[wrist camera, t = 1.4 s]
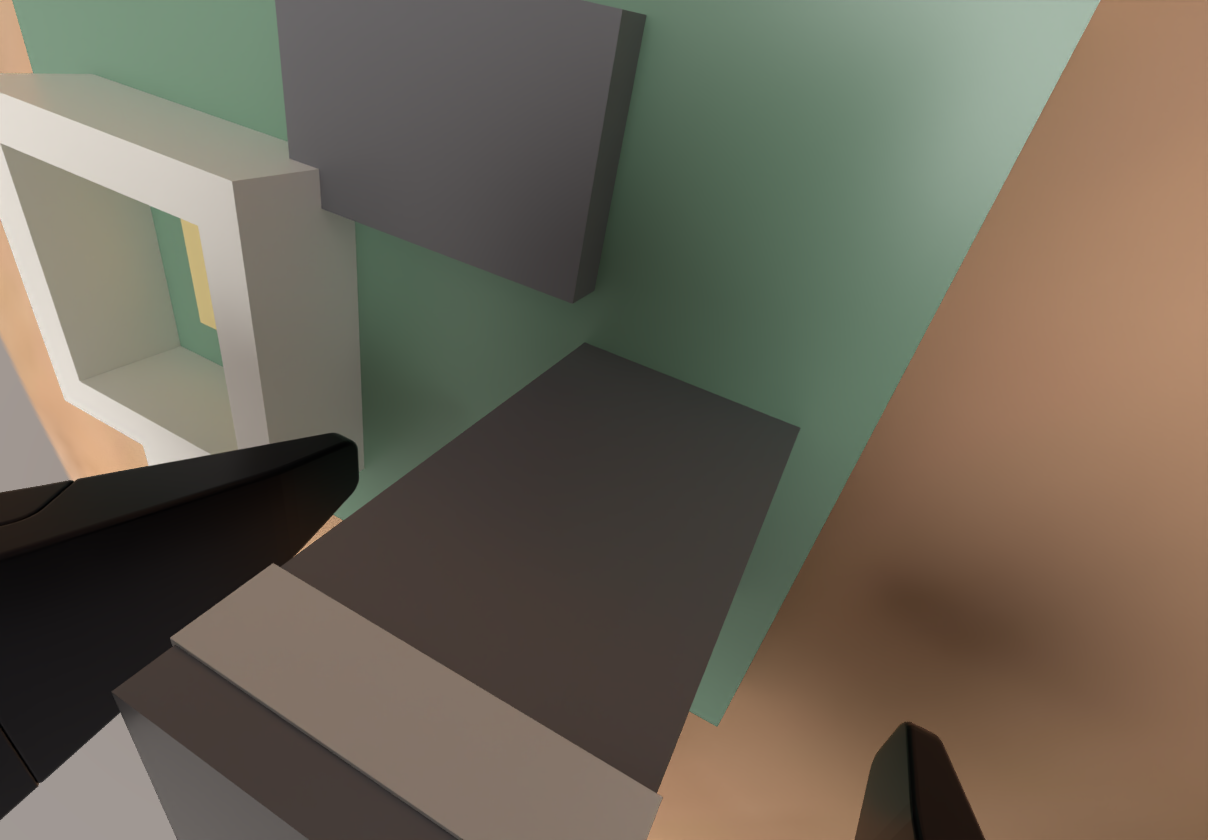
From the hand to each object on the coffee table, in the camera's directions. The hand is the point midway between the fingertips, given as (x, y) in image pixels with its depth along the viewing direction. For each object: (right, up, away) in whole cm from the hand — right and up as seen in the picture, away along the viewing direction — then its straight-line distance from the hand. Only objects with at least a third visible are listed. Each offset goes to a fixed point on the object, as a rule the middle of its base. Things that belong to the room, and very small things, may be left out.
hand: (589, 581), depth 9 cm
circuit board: (-4, +5, +5) cm, 8 cm away
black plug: (+1, +1, +2) cm, 3 cm away
